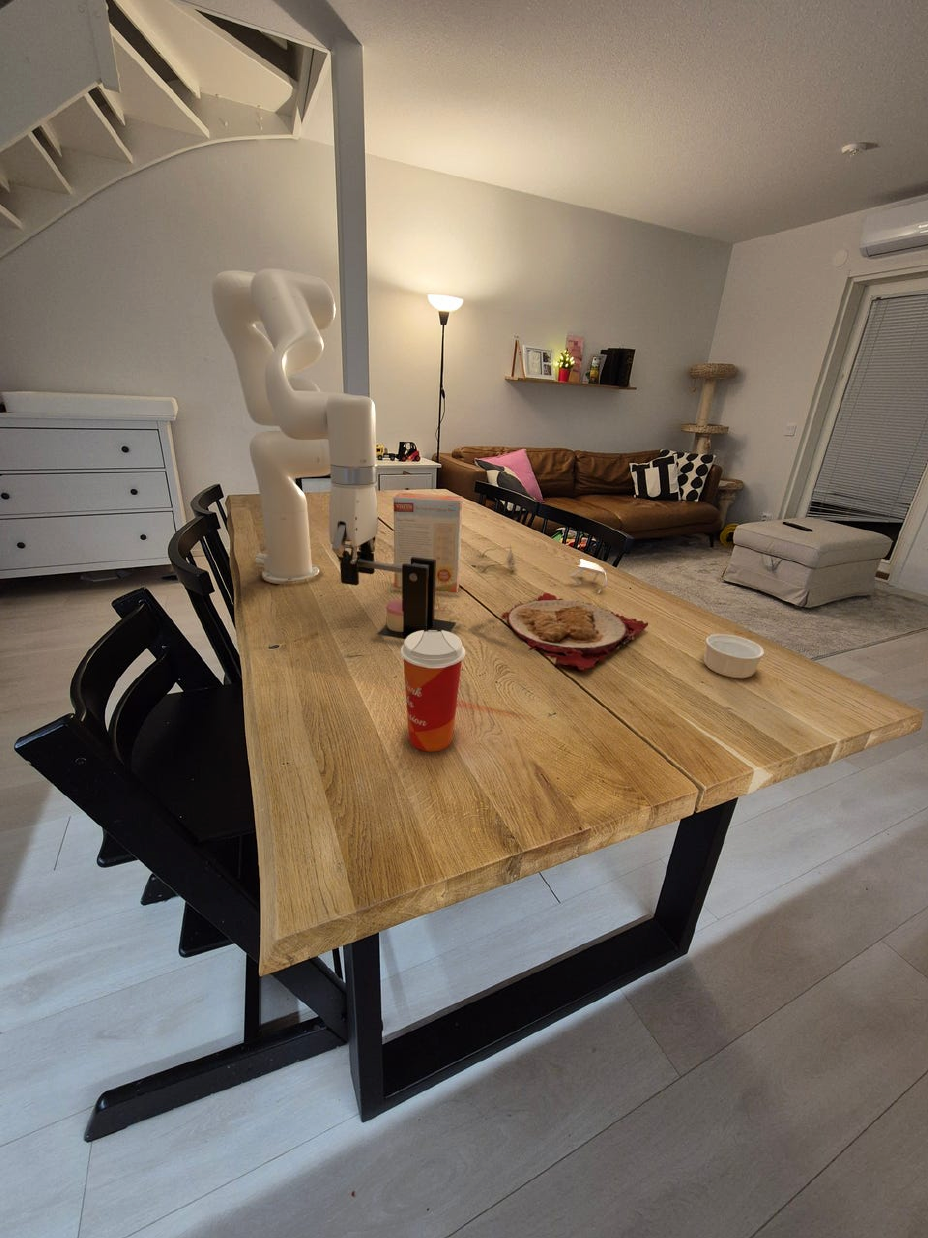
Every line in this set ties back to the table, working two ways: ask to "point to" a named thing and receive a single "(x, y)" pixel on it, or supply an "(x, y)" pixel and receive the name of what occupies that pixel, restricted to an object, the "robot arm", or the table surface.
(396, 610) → the cake
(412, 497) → the cracker box
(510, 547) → the eyeglasses
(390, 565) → the lever
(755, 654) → the ramekin
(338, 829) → the table surface
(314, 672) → the table surface
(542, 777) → the table surface
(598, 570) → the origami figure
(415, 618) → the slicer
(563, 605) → the plate with food
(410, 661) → the paper cup
